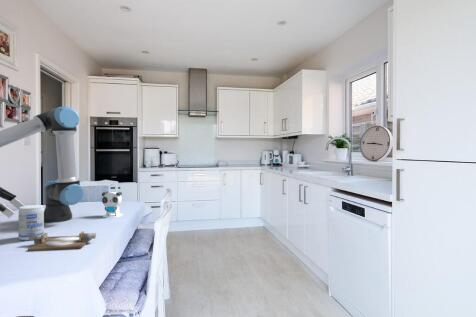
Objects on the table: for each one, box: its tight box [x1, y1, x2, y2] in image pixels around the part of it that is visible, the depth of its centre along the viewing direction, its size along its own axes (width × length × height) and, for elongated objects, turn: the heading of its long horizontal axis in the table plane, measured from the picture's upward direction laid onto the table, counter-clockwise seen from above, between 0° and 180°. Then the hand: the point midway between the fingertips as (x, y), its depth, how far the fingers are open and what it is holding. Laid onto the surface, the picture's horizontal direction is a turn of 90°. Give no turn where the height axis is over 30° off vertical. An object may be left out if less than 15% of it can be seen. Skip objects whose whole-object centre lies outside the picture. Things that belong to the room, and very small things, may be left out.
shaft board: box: [27, 231, 97, 252], centre depth 124 cm, size 16×26×5 cm, turn 100°
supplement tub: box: [18, 204, 45, 241], centre depth 132 cm, size 10×10×15 cm
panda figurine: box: [101, 191, 123, 219], centre depth 177 cm, size 12×11×15 cm
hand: (18, 212), depth 129 cm, fingers open, 13 cm apart
